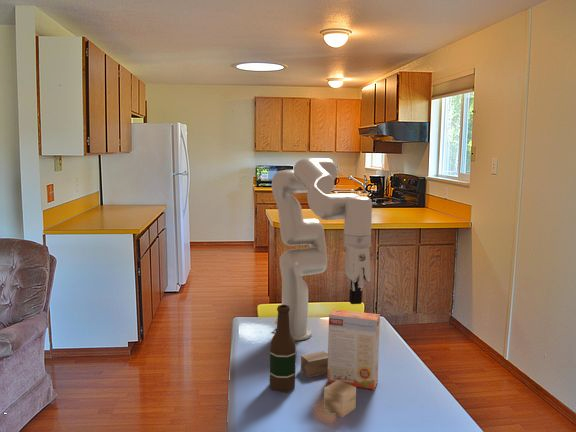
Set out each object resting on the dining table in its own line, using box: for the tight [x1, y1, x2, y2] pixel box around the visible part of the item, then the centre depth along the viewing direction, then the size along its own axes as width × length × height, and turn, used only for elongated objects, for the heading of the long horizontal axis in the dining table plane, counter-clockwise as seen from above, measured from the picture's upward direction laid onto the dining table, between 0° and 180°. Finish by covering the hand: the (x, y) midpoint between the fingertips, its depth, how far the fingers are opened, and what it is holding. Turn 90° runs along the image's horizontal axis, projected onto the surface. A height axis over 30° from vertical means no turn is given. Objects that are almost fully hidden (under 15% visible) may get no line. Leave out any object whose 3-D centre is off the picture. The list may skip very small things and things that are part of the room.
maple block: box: [323, 380, 357, 418], centre depth 131 cm, size 6×6×6 cm
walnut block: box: [300, 350, 328, 378], centre depth 153 cm, size 5×8×5 cm, turn 116°
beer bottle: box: [269, 304, 297, 393], centre depth 141 cm, size 8×8×24 cm
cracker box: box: [327, 308, 381, 391], centre depth 145 cm, size 14×6×21 cm, turn 70°
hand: (355, 303), depth 143 cm, fingers closed
